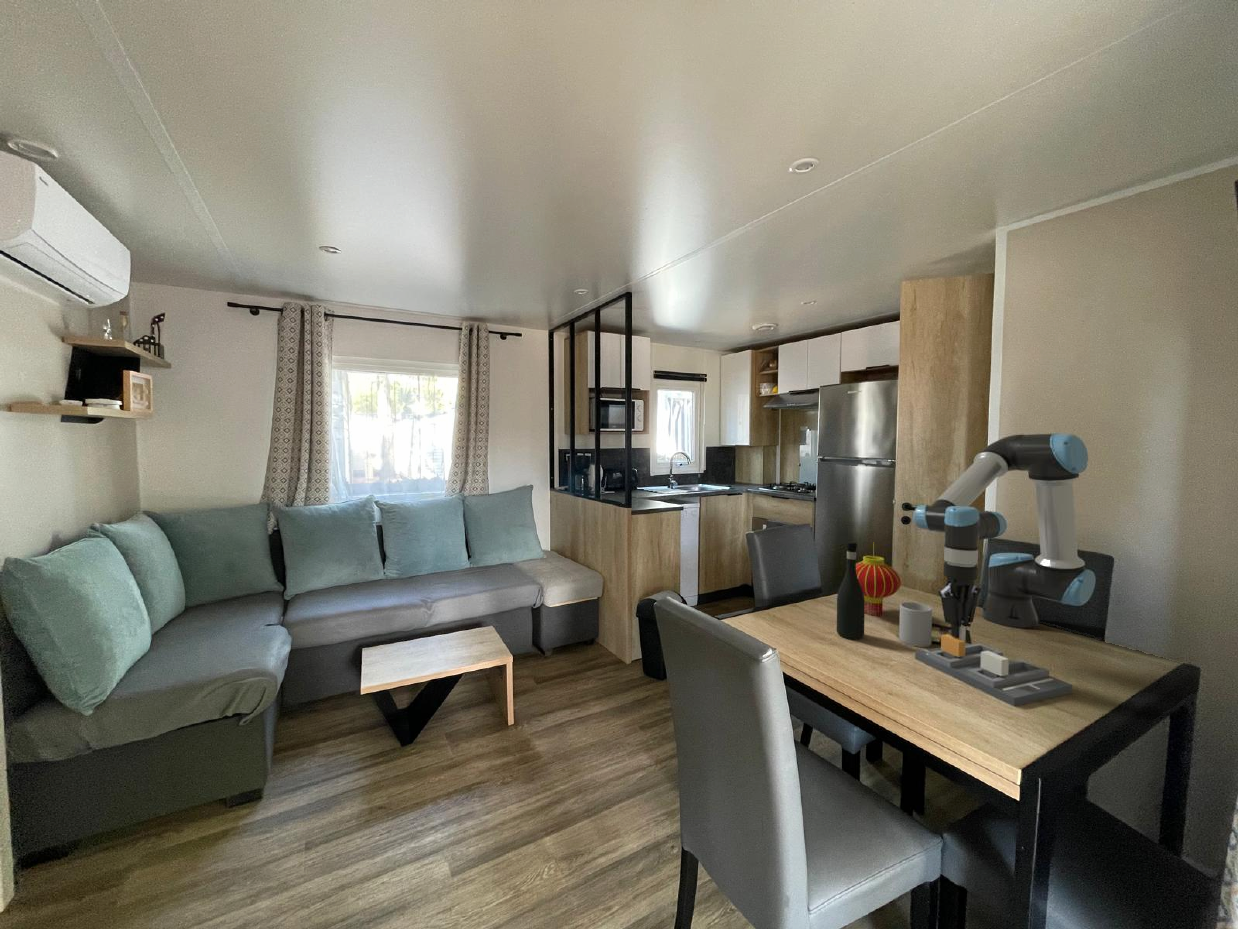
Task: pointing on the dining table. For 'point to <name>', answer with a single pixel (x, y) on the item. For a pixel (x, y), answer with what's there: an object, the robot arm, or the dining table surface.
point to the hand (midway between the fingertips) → (958, 648)
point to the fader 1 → (952, 647)
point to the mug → (915, 624)
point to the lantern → (876, 581)
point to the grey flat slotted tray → (1013, 688)
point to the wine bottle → (850, 600)
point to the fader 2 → (994, 664)
